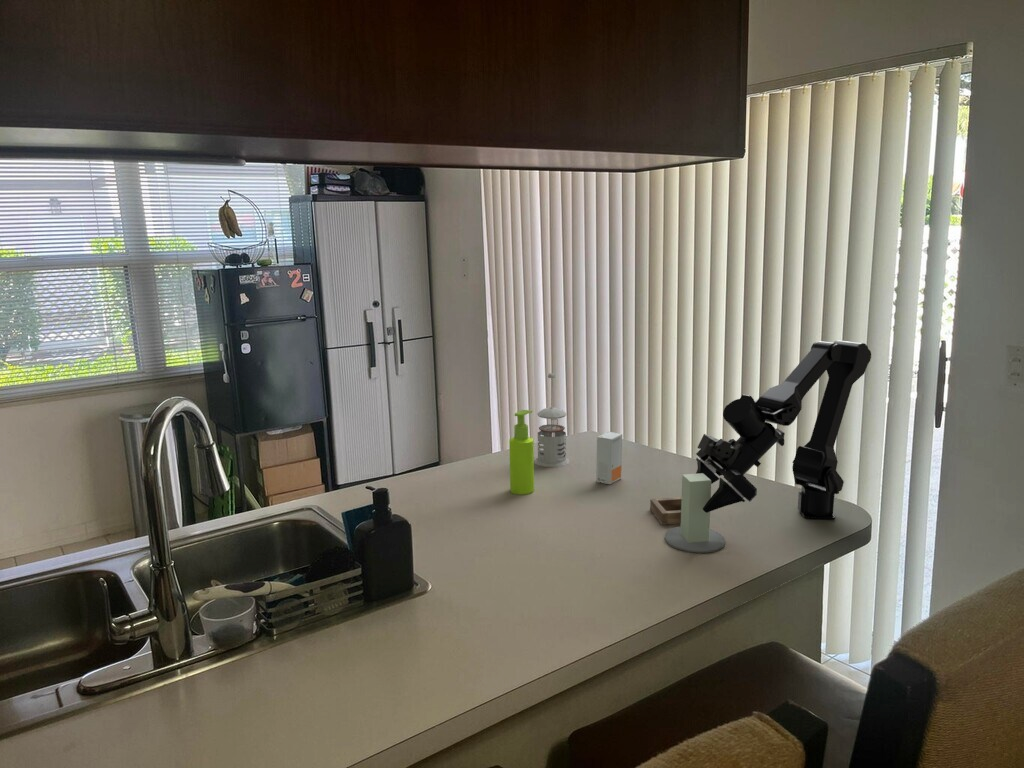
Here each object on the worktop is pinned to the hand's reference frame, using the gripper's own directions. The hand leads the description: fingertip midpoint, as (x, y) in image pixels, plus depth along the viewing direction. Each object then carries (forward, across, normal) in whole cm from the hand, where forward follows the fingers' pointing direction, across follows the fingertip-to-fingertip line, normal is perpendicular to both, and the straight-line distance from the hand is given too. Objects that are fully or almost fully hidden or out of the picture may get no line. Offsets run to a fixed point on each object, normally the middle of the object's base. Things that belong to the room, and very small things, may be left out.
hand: (695, 502), depth 147 cm
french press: (+20, -57, -8) cm, 61 cm away
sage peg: (+5, 0, +5) cm, 8 cm away
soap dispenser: (+28, -35, -16) cm, 48 cm away
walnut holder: (+6, -13, +6) cm, 16 cm away
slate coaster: (+6, 0, +6) cm, 8 cm away
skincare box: (+12, -38, 0) cm, 40 cm away
